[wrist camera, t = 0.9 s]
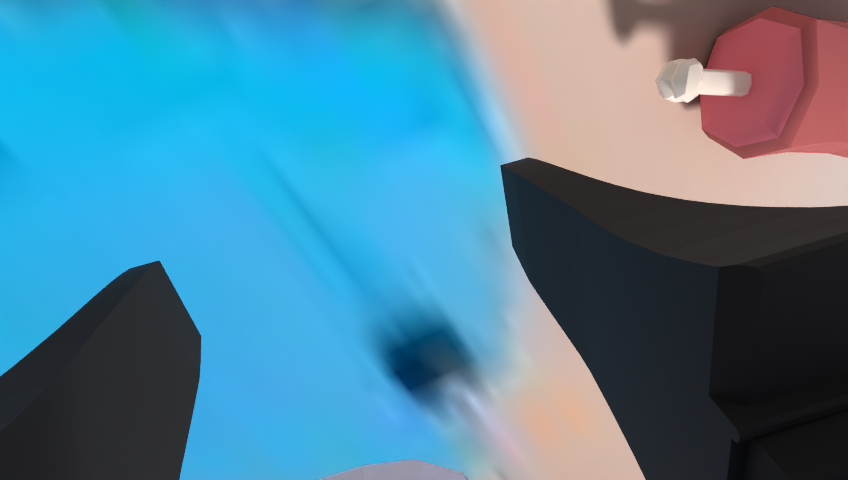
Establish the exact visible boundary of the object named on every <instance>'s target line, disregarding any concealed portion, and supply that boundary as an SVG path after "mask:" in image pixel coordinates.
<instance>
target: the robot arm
mask: <svg viewBox="0 0 848 480" xmlns="http://www.w3.org/2000/svg"><path fill="white" fill-rule="evenodd" d="M500 166H501V173H502V179H503V186H504V193H505V199H506V206H507V213H508V219H509V226H510V232H511V239H512V246H513V248H514V250H515V253H516V255H517V257H518V259H519V261H520V263H521V265H522V267H523V269H524V271H525V273H526V275H527V277H528V279H529V281H530V283H531V284H532V286H533V287H534V289H535V290H536V292H537V293H538V295H539V296H540V297H541V299H542V300H543V302H544V303H545V305H546V306H547V308H548V309H549V311H550V312H551V314H552V315H553V316H554V318H555V319H556V321H557V322H558V324H559V325H560V326H561V328H562V329H563V331H564V332H565V334H566V335H567V337H568V338H569V339H570V341H571V342H572V344H573V345H574V347H575V348H576V350H577V351H578V352H579V354H580V355H581V357H582V359H583V360H584V362H585V363H586V365H587V367H588V368H589V370H590V372H591V373H592V375H593V377H594V379H595V381H596V383H597V385H598V387H599V388H600V390H601V392H602V394H603V396H604V398H605V400H606V401H607V403H608V405H609V407H610V409H611V411H612V413H613V415H614V417H615V419H616V421H617V423H618V425H619V427H620V429H621V431H622V433H623V434H624V436H625V438H626V440H627V442H628V444H629V446H630V448H631V450H632V452H633V454H634V456H635V458H636V460H637V462H638V465H639V467H640V469H641V471H642V473H643V475H644V477H645V479H646V480H848V206H835V207H756V206H738V205H727V204H716V203H705V202H697V201H689V200H683V199H677V198H672V197H666V196H660V195H655V194H650V193H645V192H641V191H637V190H633V189H629V188H625V187H621V186H618V185H614V184H610V183H607V182H604V181H600V180H597V179H594V178H591V177H588V176H585V175H582V174H579V173H576V172H573V171H570V170H567V169H564V168H561V167H558V166H555V165H552V164H549V163H546V162H543V161H540V160H537V159H533V158H525V159H522V160H518V161H514V162H511V163H507V164H504V165H500ZM200 361H201V335H200V333H199V331H198V330H197V328H196V326H195V324H194V322H193V321H192V319H191V317H190V315H189V313H188V312H187V310H186V308H185V306H184V304H183V302H182V301H181V299H180V297H179V295H178V293H177V292H176V290H175V288H174V286H173V284H172V282H171V281H170V279H169V277H168V275H167V273H166V272H165V270H164V268H163V266H162V264H161V262H160V261H156V262H152V263H148V264H145V265H141V266H138V267H134V268H131V269H128V270H127V271H125V272H124V273H122V274H121V275H120V276H118V277H117V278H116V279H114V280H113V281H112V282H111V283H109V284H108V285H107V286H106V287H105V288H104V289H102V290H101V291H100V292H99V293H98V294H97V295H96V296H94V297H93V298H92V299H91V300H90V301H89V302H88V303H87V304H85V305H84V306H83V307H82V308H81V309H80V310H79V311H78V312H76V313H75V314H74V315H73V316H72V317H71V318H70V319H69V320H67V321H66V322H65V323H64V324H63V325H62V326H61V327H60V328H59V329H57V330H56V331H55V332H54V333H53V334H52V335H50V336H49V337H48V338H47V339H46V340H44V341H43V342H42V343H41V344H40V345H38V346H37V347H36V348H35V349H34V350H32V351H31V352H30V353H29V354H28V355H26V356H25V357H24V358H23V359H22V360H20V361H19V362H18V363H17V364H16V365H14V366H13V367H12V368H11V369H9V370H8V371H7V372H6V373H4V374H3V375H2V376H0V480H179V478H180V472H181V467H182V462H183V458H184V453H185V448H186V443H187V438H188V434H189V429H190V424H191V419H192V414H193V409H194V404H195V399H196V394H197V389H198V383H199V378H200ZM317 480H468V479H467V477H466V476H465V475H464V473H462V472H458V471H455V470H451V469H448V468H444V467H440V466H437V465H433V464H430V463H426V462H423V461H419V460H416V459H409V460H401V461H393V462H385V463H377V464H369V465H363V466H360V467H356V468H353V469H350V470H346V471H343V472H340V473H337V474H333V475H330V476H327V477H324V478H320V479H317Z"/></svg>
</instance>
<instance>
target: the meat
mask: <svg viewBox="0 0 848 480" xmlns="http://www.w3.org/2000/svg"><path fill="white" fill-rule="evenodd" d="M656 83H657V87H658V90H659V93H660V95H661V96H662V97H663V98H665V99H667V100H670V101H672V102H682V101H684V102H686V103H688V102H689V101H691V100H692V99H694V98H695V97H696V96H698V95H699V94H700V102H701V120H702V130H703V131H704V132H705V134H706V135H707V136H708V137H709V138H710V139H712V140H714V141H715V142H717V143H719V144H720V145H722V146H724V147H725V148H727V149H729V150H730V151H732V152H733V153H735V154H737V155H738V156H740V157H742V158H743V159H746V158H752V157H757V156H763V155H770V154H777V153H784V152H805V153H829V154H834V155H838V156H843V157H848V22H840V21H829V20H819V19H816V18H812V17H809V16H805V15H802V14H798V13H795V12H791V11H788V10H784V9H781V8H777V7H774V6H772V7H770V8H768V9H766V10H764V11H762V12H760V13H758V14H756V15H754V16H753V17H751V18H749V19H747V20H745V21H743V22H741V23H739V24H737V25H735V26H733V27H731V28H730V29H728V30H726V31H725V32H724V33H722V34H721V35H720V36H719V37H718V38H717V40H716V42H715V45H714V48H713V50H712V53H711V56H710V58H709V61H708V64H707V66H706V69H703V66H702V65H701V63H700V62H699V61H698V60H696V59H695V58H692V59H688V60H687V59H677V60H674V61H670V62H668V63H667V64H666V65H665V66H664V67H663V68H662V70H661V72H660V74H659V75H658V77H657V79H656Z"/></svg>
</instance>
